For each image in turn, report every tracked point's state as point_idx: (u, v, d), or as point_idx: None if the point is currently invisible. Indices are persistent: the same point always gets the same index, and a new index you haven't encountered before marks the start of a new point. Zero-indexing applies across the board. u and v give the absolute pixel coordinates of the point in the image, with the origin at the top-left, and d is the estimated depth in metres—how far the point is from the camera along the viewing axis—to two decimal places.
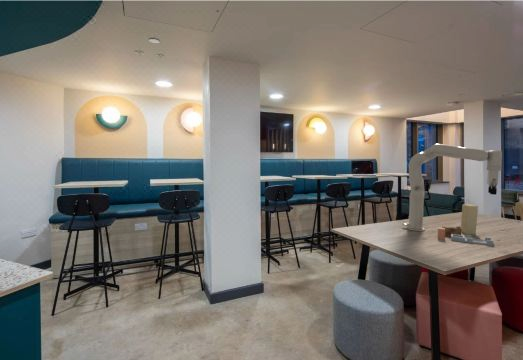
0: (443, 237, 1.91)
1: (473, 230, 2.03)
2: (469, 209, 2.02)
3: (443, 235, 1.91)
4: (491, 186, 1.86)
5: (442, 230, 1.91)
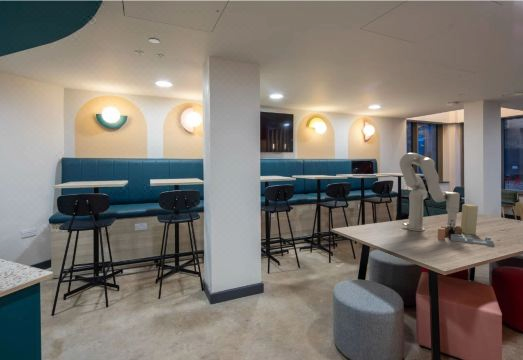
0: (443, 237, 1.91)
1: (473, 230, 2.03)
2: (469, 209, 2.02)
3: (443, 235, 1.91)
4: (449, 228, 1.98)
5: (442, 230, 1.91)
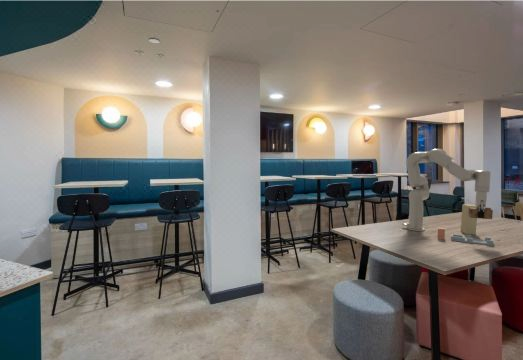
0: (443, 237, 1.91)
1: (473, 230, 2.03)
2: None
3: (443, 235, 1.91)
4: (479, 209, 1.80)
5: (442, 230, 1.91)
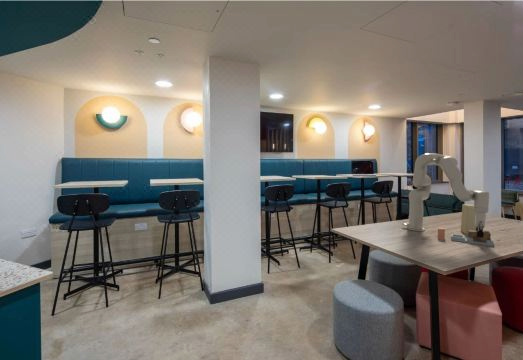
0: (443, 237, 1.91)
1: None
2: (469, 209, 2.02)
3: (443, 235, 1.91)
4: (478, 229, 1.79)
5: (442, 230, 1.91)
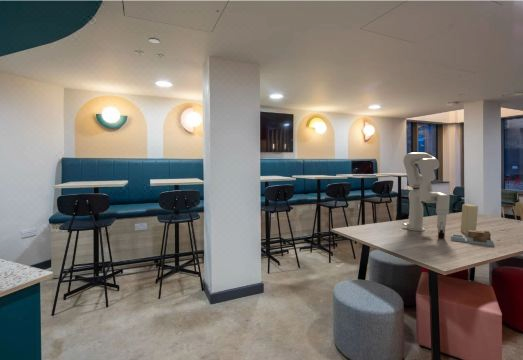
0: None
1: None
2: (469, 209, 2.02)
3: None
4: (439, 231, 1.91)
5: None
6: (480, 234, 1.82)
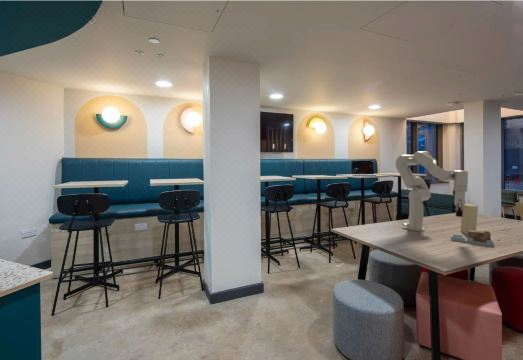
0: None
1: None
2: (469, 209, 2.02)
3: None
4: (457, 208, 1.86)
5: None
6: (480, 234, 1.82)
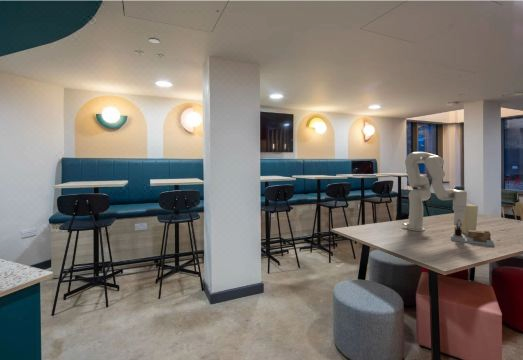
0: None
1: None
2: (469, 209, 2.02)
3: None
4: (456, 227, 1.86)
5: None
6: (480, 234, 1.82)
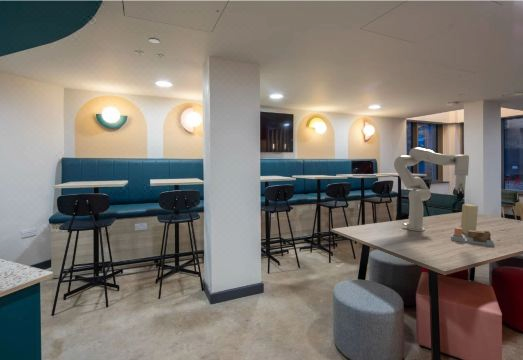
0: None
1: None
2: (469, 209, 2.02)
3: (460, 235, 1.88)
4: (458, 191, 1.84)
5: (459, 229, 1.88)
6: (480, 234, 1.82)
